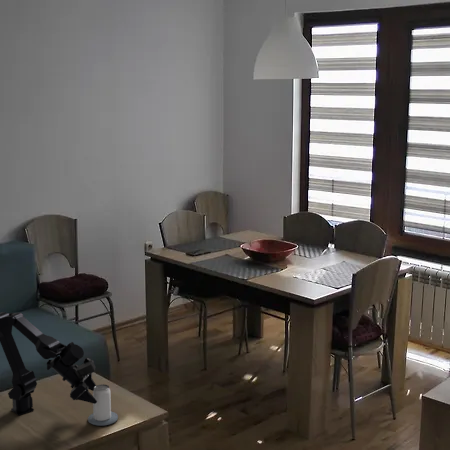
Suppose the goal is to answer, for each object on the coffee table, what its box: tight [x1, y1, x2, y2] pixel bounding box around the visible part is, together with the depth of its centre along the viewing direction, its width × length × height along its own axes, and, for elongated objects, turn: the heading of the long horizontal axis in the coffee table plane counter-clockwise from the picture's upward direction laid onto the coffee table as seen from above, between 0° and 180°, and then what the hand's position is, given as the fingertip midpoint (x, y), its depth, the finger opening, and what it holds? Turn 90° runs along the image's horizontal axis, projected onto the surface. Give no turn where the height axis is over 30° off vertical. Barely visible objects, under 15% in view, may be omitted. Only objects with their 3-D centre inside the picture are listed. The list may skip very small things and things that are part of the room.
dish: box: [87, 411, 119, 427], centre depth 259 cm, size 11×11×1 cm
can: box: [92, 383, 112, 421], centre depth 258 cm, size 6×6×12 cm
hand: (97, 397), depth 258 cm, fingers open, 9 cm apart
